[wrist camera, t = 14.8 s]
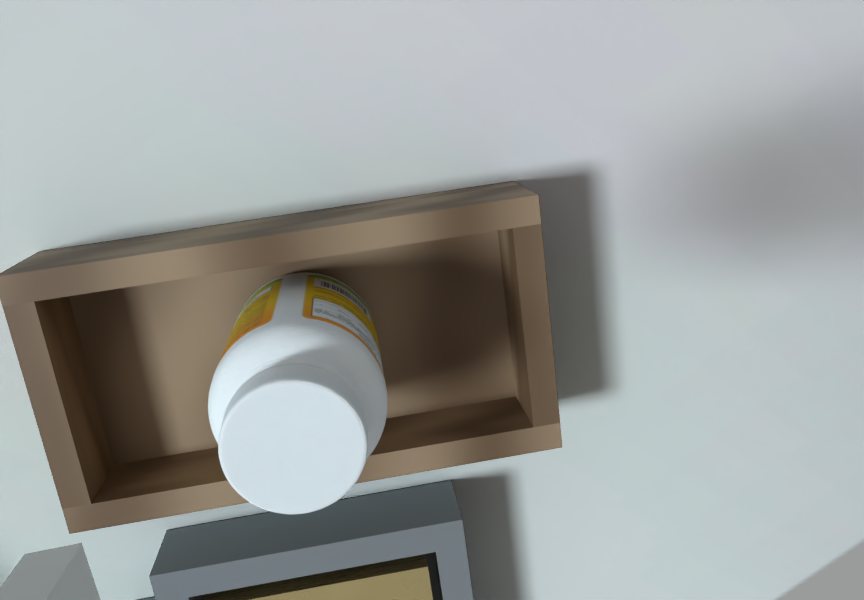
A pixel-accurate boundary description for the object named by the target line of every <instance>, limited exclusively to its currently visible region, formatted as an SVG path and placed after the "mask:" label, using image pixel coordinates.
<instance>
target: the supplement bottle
mask: <svg viewBox="0 0 864 600" xmlns="http://www.w3.org/2000/svg"><path fill="white" fill-rule="evenodd" d="M208 415H209V421H210V426H211V429H212V432H213V435H214V437H215V439H216V441H217V443H218V454H219V460H220V464H221V467H222V470H223V472H224V474H225V477H226V478H227V480H228V481H229V483H230V485H231V486H232V487H233V488H234V489H235V491H236V492H237V493H238V494H239V495H241V496H242V497H243V498H244V499H246V500H247V501H249V502H250V503H252V504H253V505H255V506H257V507H259V508H262V509H264V510H267V511H270V512H275V513H281V514H304V513H310V512H313V511H317V510H320V509H323V508H325V507H327V506H329V505H331V504H333V503H334V502H336V501H338V500H339V499H340V498H342V497H343V496H344V495H345V494H346V493H347V492H348V491H349V490H350V489H351V488H352V487H353V486H354V484H355V483H356V482H357V480H358V479H359V477H360V475H361V473H362V471H363V469H364V466H365V463H366V459H367V458H368V457H369V456H370V454H371V453H372V452H373V450H374V449H375V447H376V446H377V444H378V442H379V440H380V438H381V435H382V432H383V429H384V426H385V422H386V417H387V389H386V383H385V378H384V373H383V367H382V360H381V355H380V349H379V343H378V337H377V331H376V327H375V323H374V320H373V317H372V315H371V312H370V311H369V309H368V307H367V306H366V304H365V303H364V301H363V300H362V299H361V297H360V296H359V295H358V294H357V293H356V292H355V291H354V290H353V289H351V288H350V287H349V286H347V285H346V284H344V283H343V282H341V281H339V280H337V279H335V278H332V277H330V276H326V275H323V274H318V273H309V272H304V273H293V274H288V275H284V276H281V277H278V278H276V279H274V280H272V281H270V282H268V283H267V284H265V285H264V286H262V287H261V288H259V289H258V290H257V291H256V292H255V293H254V294H253V295H252V296H251V297H250V298H249V299H248V301H247V302H246V303H245V305H244V306H243V308H242V310H241V312H240V313H239V315H238V318H237V320H236V322H235V325H234V327H233V330H232V332H231V335H230V337H229V340H228V342H227V344H226V347H225V349H224V351H223V354H222V356H221V358H220V361H219V363H218V365H217V368H216V370H215V373H214V375H213V379H212V382H211V386H210V390H209V397H208Z"/></svg>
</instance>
